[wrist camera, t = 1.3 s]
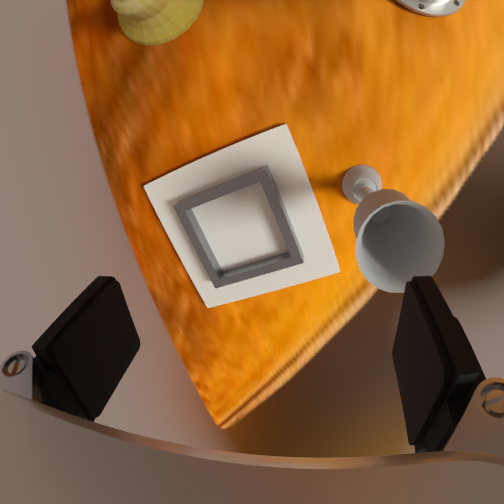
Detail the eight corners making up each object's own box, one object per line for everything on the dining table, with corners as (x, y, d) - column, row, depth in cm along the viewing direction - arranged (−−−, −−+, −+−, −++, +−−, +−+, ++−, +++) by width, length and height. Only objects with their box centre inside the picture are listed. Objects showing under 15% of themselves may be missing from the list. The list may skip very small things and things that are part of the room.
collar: (267, 165, 37) (265, 168, 35) (303, 255, 41) (303, 262, 39) (178, 201, 40) (172, 206, 39) (218, 280, 45) (215, 288, 43)
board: (286, 123, 35) (286, 123, 34) (339, 268, 42) (340, 271, 41) (146, 184, 41) (143, 186, 40) (209, 304, 48) (207, 308, 47)
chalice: (323, 171, 37) (338, 227, 21) (373, 146, 34) (425, 183, 18) (350, 222, 39) (377, 306, 23) (397, 198, 37) (454, 269, 21)
